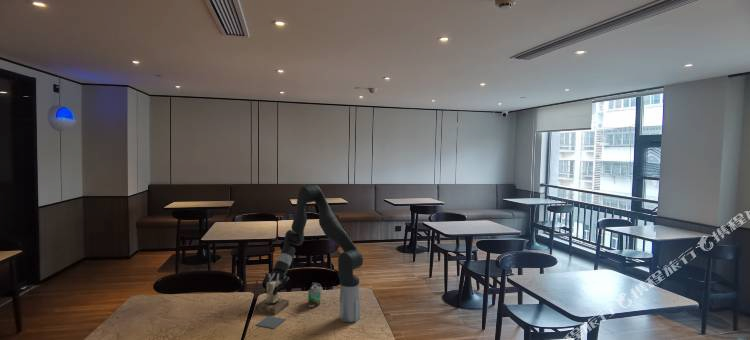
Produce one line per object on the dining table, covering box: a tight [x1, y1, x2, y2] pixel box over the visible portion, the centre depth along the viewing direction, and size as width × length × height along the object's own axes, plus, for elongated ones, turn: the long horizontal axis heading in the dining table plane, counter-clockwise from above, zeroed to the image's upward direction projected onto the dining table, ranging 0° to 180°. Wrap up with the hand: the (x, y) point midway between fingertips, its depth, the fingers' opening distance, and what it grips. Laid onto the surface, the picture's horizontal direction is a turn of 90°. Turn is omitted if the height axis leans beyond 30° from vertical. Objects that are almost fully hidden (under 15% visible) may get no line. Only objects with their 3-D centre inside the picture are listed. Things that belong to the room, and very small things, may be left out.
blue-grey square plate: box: [255, 315, 287, 330], centre depth 180 cm, size 10×10×1 cm
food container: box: [307, 282, 323, 309], centre depth 201 cm, size 12×6×10 cm, turn 179°
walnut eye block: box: [254, 297, 289, 315], centre depth 196 cm, size 12×12×3 cm
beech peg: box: [266, 280, 279, 303], centre depth 196 cm, size 4×4×10 cm
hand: (270, 293), depth 194 cm, fingers closed on beech peg, 4 cm apart
